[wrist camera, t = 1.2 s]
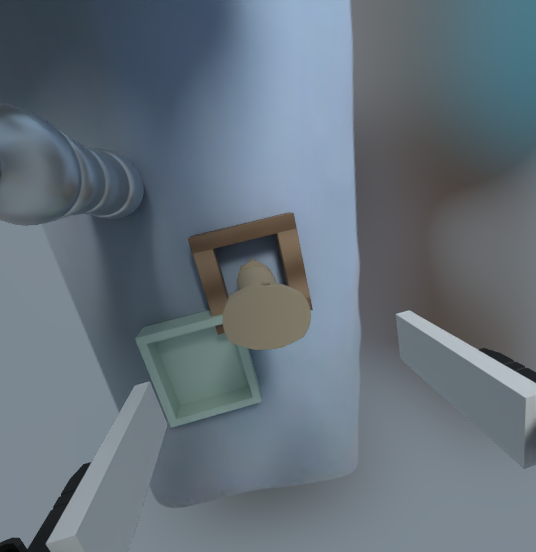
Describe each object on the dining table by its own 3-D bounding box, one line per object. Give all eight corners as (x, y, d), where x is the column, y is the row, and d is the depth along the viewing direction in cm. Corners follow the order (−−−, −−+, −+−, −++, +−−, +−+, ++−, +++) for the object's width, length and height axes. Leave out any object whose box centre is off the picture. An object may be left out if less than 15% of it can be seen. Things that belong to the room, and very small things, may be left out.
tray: (143, 327, 34) (134, 338, 31) (236, 302, 35) (236, 311, 32) (175, 410, 38) (171, 427, 35) (259, 386, 38) (262, 401, 35)
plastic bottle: (91, 217, 30) (-158, 237, 11) (82, 152, 29) (-229, 39, 9) (151, 219, 31) (19, 239, 12) (146, 155, 29) (-18, 57, 10)
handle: (278, 288, 35) (310, 345, 21) (227, 291, 34) (224, 352, 20) (277, 251, 34) (311, 284, 19) (225, 253, 33) (220, 290, 19)
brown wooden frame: (191, 236, 32) (187, 238, 30) (289, 212, 33) (293, 212, 30) (218, 326, 35) (217, 334, 33) (307, 302, 36) (312, 309, 34)
